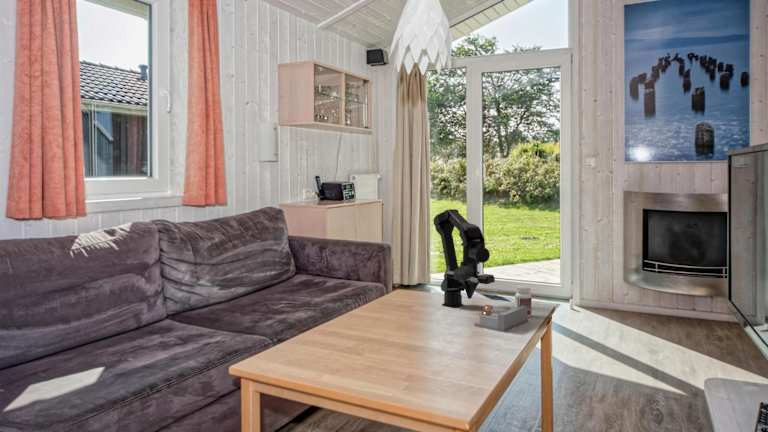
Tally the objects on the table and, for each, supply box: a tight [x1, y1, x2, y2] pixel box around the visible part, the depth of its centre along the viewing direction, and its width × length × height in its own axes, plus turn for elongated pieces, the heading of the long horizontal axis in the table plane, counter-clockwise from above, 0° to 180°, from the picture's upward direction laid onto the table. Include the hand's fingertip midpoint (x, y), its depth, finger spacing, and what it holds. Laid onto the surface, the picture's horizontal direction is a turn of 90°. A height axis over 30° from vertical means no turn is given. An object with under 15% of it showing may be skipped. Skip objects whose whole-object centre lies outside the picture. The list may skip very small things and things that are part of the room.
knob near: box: [481, 309, 498, 318], centre depth 202 cm, size 8×5×4 cm, turn 49°
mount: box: [473, 305, 528, 333], centre depth 204 cm, size 12×17×6 cm
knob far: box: [483, 304, 508, 312], centre depth 210 cm, size 8×5×4 cm, turn 49°
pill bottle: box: [514, 285, 533, 318], centre depth 216 cm, size 6×6×11 cm
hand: (469, 298), depth 218 cm, fingers closed
